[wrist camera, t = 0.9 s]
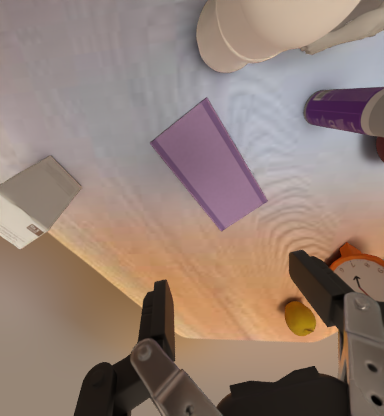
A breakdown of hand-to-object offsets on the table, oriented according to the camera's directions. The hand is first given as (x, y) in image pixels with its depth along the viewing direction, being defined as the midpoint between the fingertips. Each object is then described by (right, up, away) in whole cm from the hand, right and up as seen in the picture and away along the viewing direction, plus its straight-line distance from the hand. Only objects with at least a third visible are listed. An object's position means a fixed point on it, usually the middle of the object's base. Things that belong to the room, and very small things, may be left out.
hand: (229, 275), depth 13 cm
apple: (+22, -20, +39) cm, 50 cm away
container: (+16, +19, +18) cm, 31 cm away
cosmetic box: (-22, +9, +18) cm, 30 cm away
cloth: (+1, +10, +20) cm, 23 cm away
